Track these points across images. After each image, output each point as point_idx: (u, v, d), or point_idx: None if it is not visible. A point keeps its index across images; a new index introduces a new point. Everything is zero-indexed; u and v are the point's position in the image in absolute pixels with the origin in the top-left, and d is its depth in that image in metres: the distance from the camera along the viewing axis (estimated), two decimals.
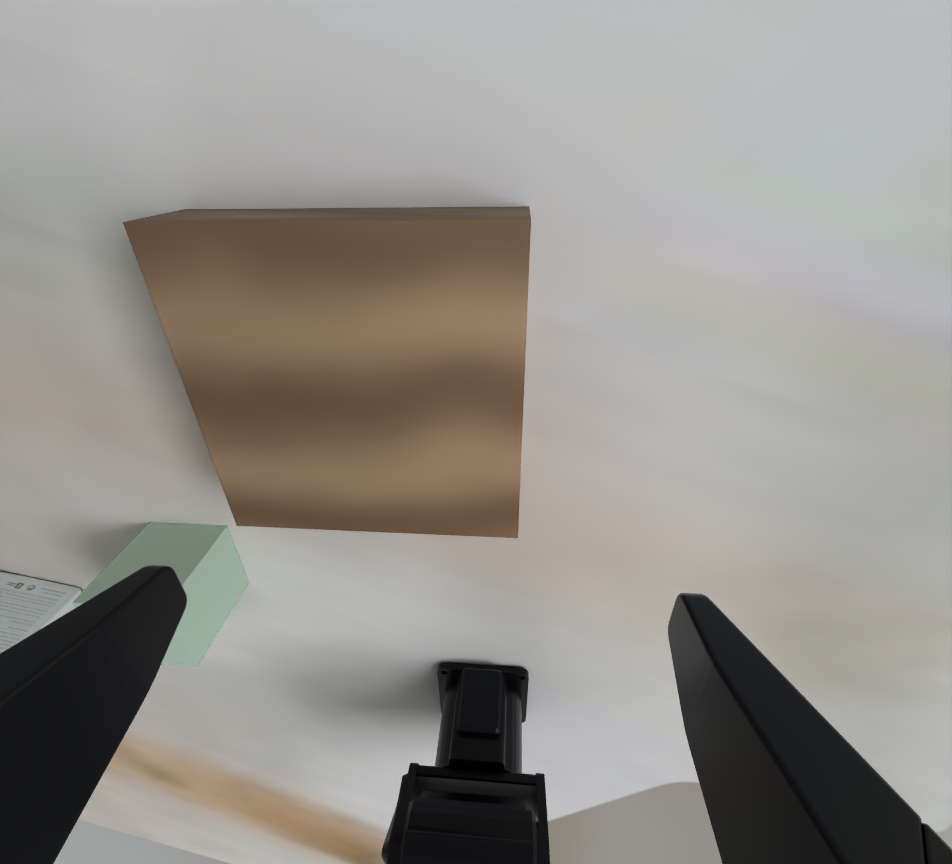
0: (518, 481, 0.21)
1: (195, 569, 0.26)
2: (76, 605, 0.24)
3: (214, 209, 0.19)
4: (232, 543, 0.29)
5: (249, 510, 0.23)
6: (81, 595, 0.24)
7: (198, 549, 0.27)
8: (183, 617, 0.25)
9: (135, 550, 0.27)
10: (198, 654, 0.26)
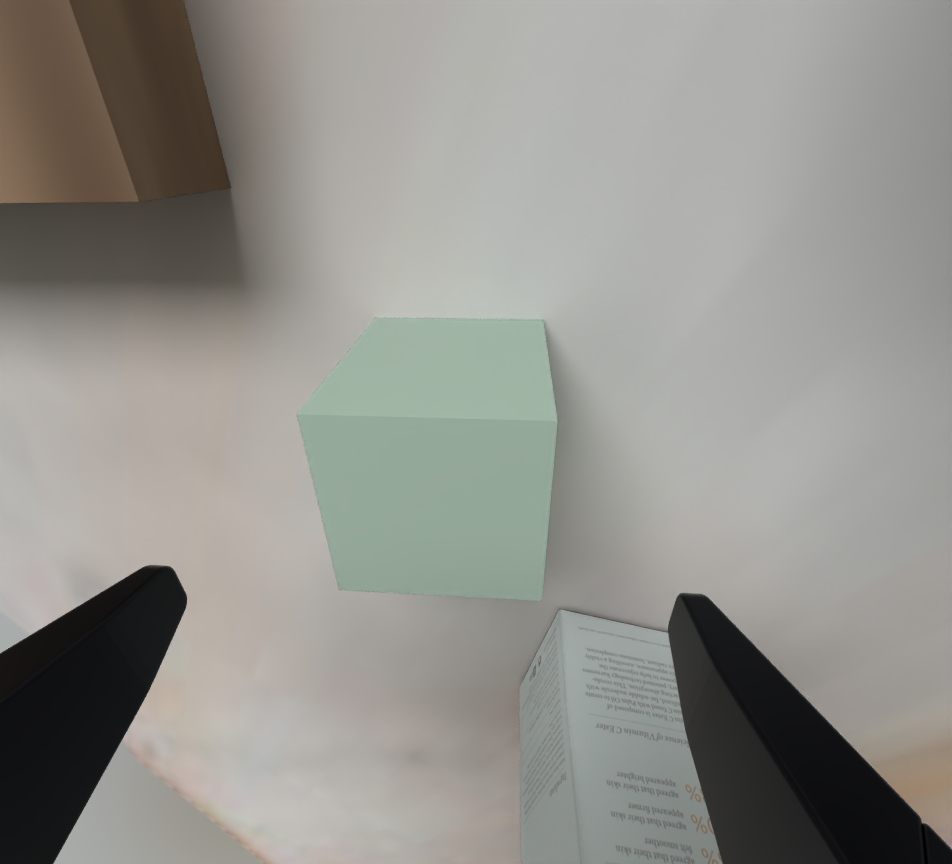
0: None
1: (340, 361, 0.11)
2: (346, 587, 0.12)
3: None
4: (419, 319, 0.14)
5: (70, 148, 0.09)
6: None
7: None
8: (383, 400, 0.10)
9: None
10: (528, 410, 0.09)
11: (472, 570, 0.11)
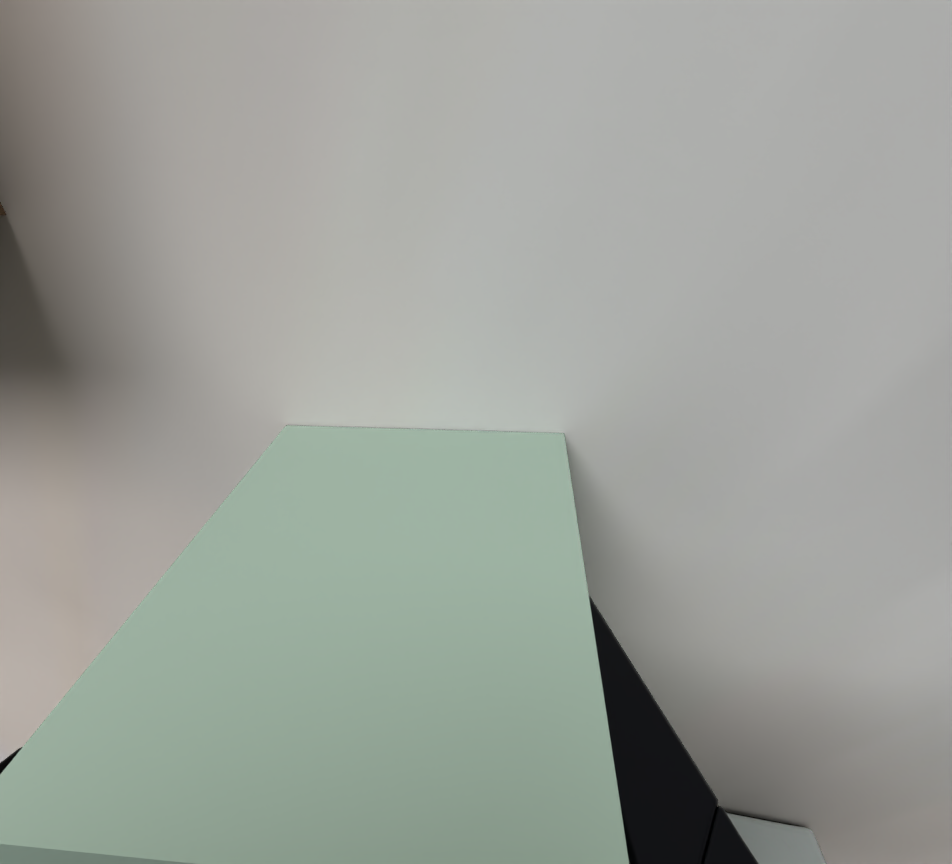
0: None
1: (169, 570, 0.06)
2: None
3: None
4: (356, 432, 0.08)
5: None
6: None
7: None
8: (197, 760, 0.04)
9: None
10: (551, 826, 0.04)
11: None
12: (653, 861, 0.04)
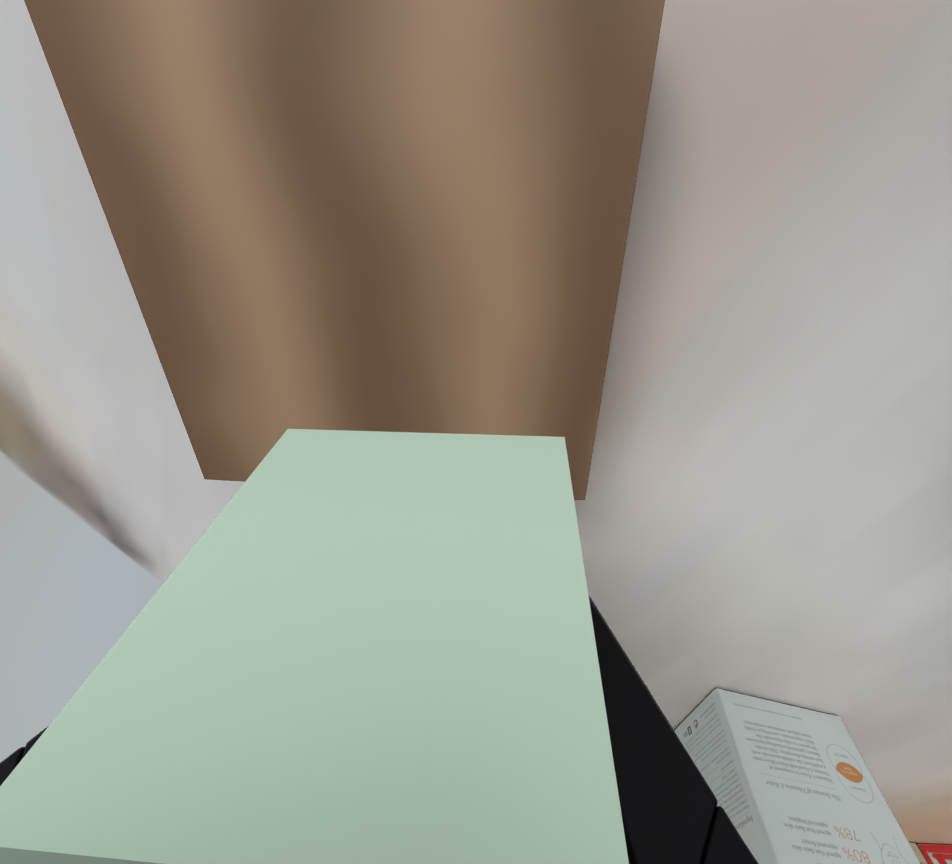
0: None
1: (172, 574, 0.06)
2: None
3: None
4: (357, 436, 0.08)
5: None
6: None
7: None
8: (201, 764, 0.04)
9: None
10: (552, 830, 0.04)
11: None
12: (653, 861, 0.04)
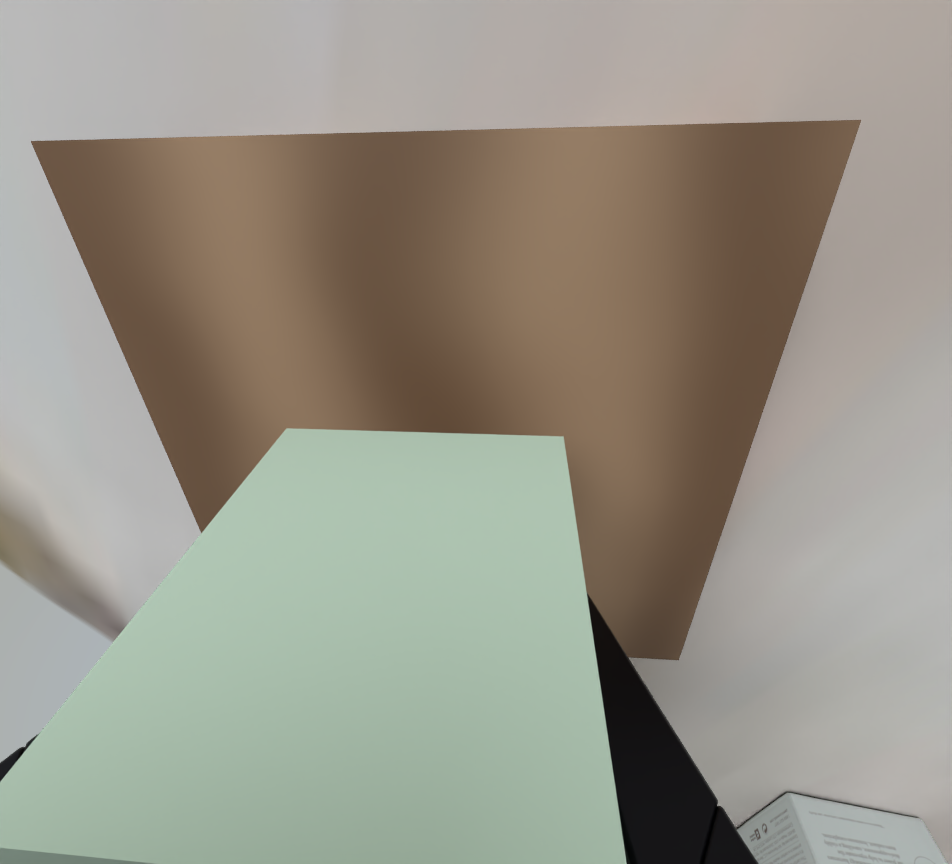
0: (637, 130, 0.08)
1: (169, 575, 0.06)
2: None
3: None
4: (356, 436, 0.08)
5: (649, 639, 0.14)
6: None
7: None
8: (198, 765, 0.04)
9: None
10: (550, 830, 0.04)
11: None
12: (653, 862, 0.04)
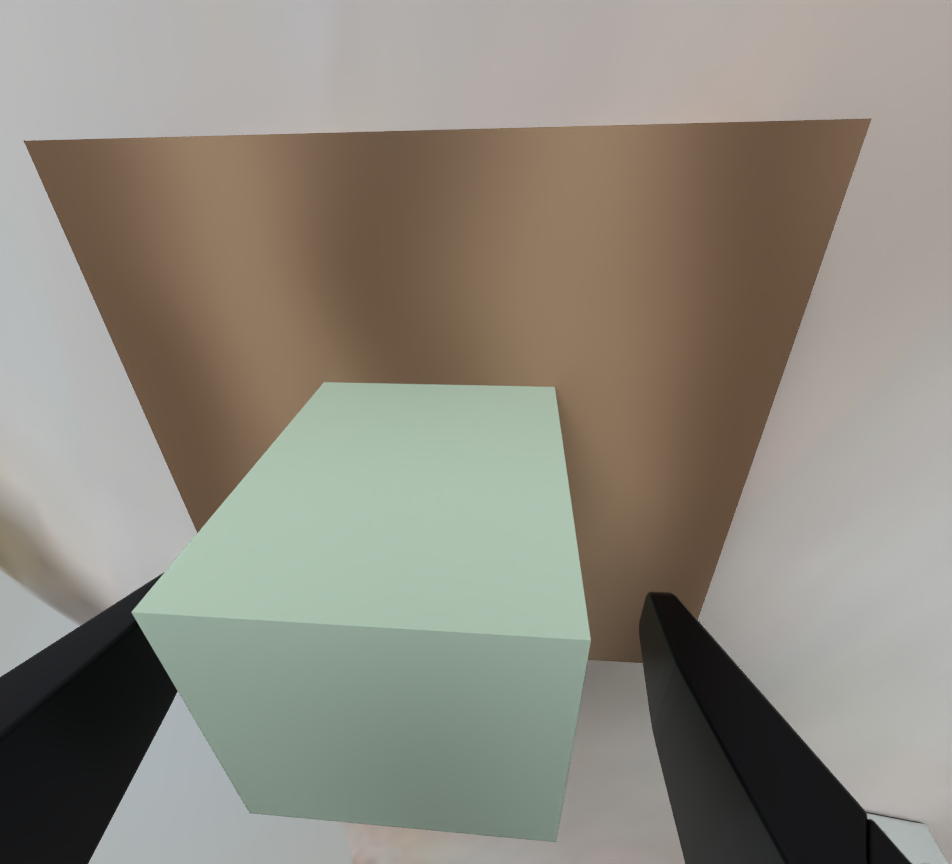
0: (642, 129, 0.08)
1: (249, 474, 0.07)
2: (260, 810, 0.08)
3: None
4: (382, 387, 0.10)
5: None
6: None
7: None
8: (291, 574, 0.06)
9: None
10: (537, 605, 0.05)
11: (448, 805, 0.07)
12: None
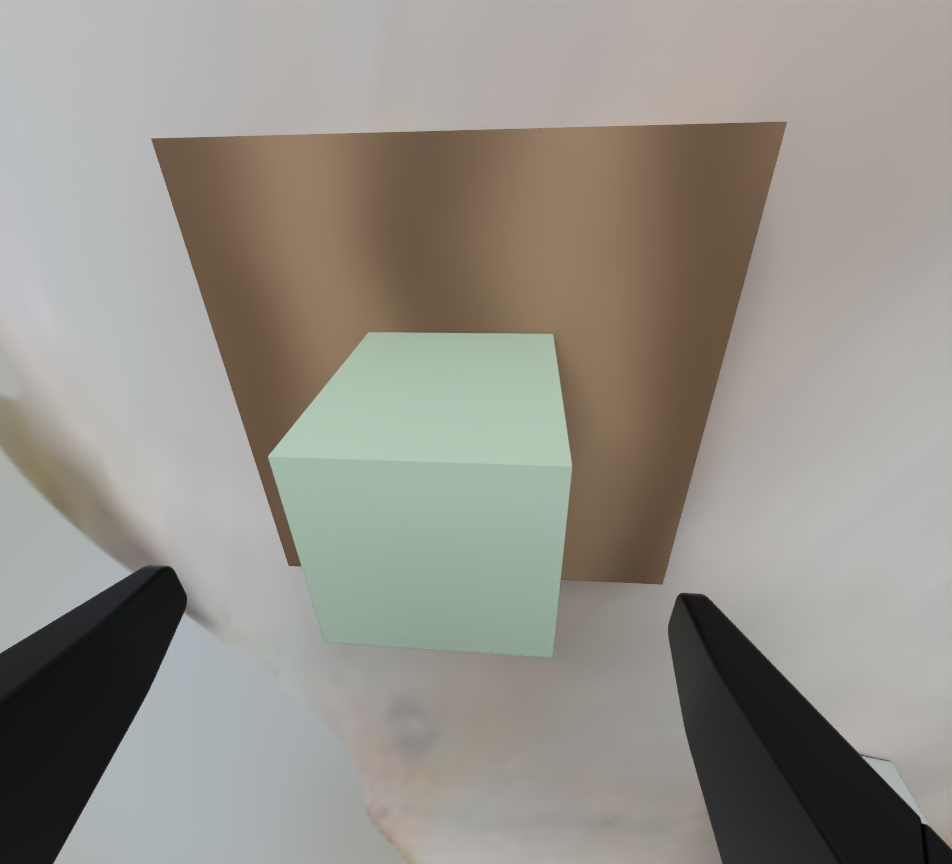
0: (619, 129, 0.10)
1: (325, 387, 0.10)
2: (333, 639, 0.10)
3: None
4: (416, 335, 0.13)
5: (637, 564, 0.17)
6: None
7: None
8: (370, 438, 0.08)
9: None
10: (537, 451, 0.08)
11: (473, 625, 0.10)
12: None
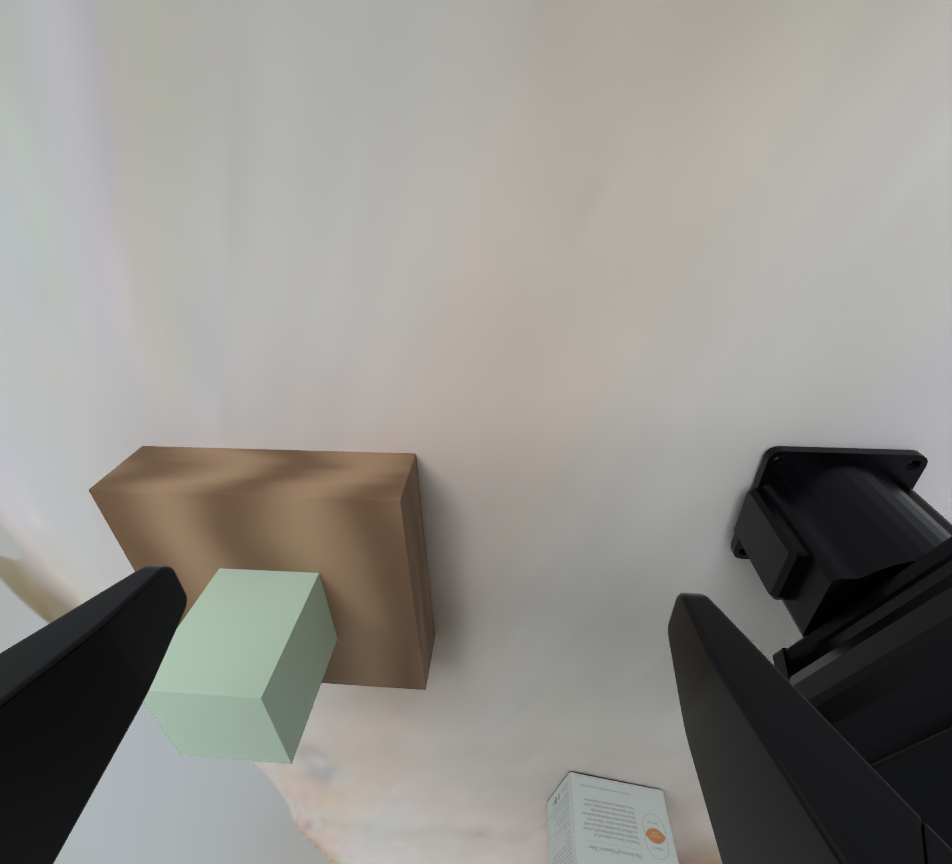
0: (321, 499, 0.20)
1: (176, 630, 0.20)
2: (183, 754, 0.20)
3: None
4: (244, 572, 0.23)
5: (406, 679, 0.27)
6: None
7: None
8: (183, 676, 0.18)
9: None
10: (252, 686, 0.18)
11: (248, 750, 0.20)
12: None
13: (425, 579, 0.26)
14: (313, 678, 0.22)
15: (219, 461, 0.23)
